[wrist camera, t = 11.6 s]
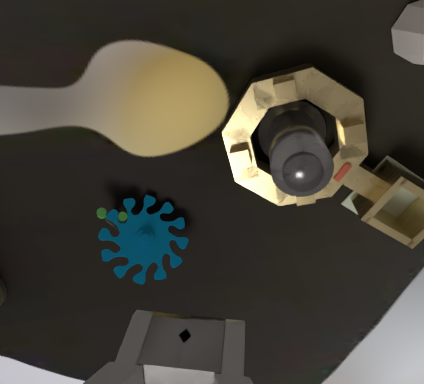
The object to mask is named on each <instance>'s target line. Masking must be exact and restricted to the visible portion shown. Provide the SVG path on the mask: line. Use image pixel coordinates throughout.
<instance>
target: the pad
mask: <svg viewBox="0 0 424 384" xmlns="http://www.w3.org/2000/svg"><path fill="white" fill-rule="evenodd" d="M386 159H388V160H390V161H391V162H393V163H395V164H396V165H398V166H400V167H401V168H403V169H405V170H406V171H408V172H409V173H411V174H413V175H414V176H416V177H418V178H419V179H421V180H423V179H422V178H420V177H419V176H417V175H416V174H414V173H413V172H412V171H410V170H409V169H407V168H406V167H404V166H403V165H401V164H400V163H398V162H397V161H395V160H394V159H392V158H391V157H390V156H388V155H387V156H386V157H385V158H384V159H383V160H382V161H381V162H380V163H379V164H378V165H377V166H376V167H375V168H374V169H373V170H375V171H376V170H377V169H378V168H379V166H380V165H381V164H382V163H383V162H384V161H385V160H386ZM423 181H424V180H423ZM355 193H356V192H355V191H354V190H353V191H352V192H351V193H350V194H349V195H348V196H347V197H346V198H345V199H344V200H343V201H342V202H341V204H342V205H344V206H345V207H347V208H348V209H350V210H351V211H353V212H355V213H356V214H358V213H357V211H356V209H355V207H354V205H353V203H352V201H351V198H352V197H353V195H354V194H355ZM417 198H418V196H416V195H415V194H413V193H411V192H410V191H408V190H406V189H405V188H403V187H401V188H400V189H399V190H398V192H397V193H396V194H395V195H394V196H393V197H392V198H391V199H390V200H389V201H388V202H387V203H386V204H385V205H384V206H383V207H382V209H383V210H385V211H387V212H388V213H390V214H392V215H394V216H395V217H397V218H398V217H399V216H400V215H401V214H402V213H403V212H404V211H405V210H406V209H407V208H408V207H409V206H410V205H411V204H412V203H413V202H414V201H415V200H416V199H417Z"/></svg>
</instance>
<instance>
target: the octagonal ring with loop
mask: <svg viewBox="0 0 424 384" xmlns="http://www.w3.org/2000/svg"><path fill="white" fill-rule="evenodd" d="M302 99H307V100H309V101H310V102H312V103H313V104H315V105H317V106H318V107H320V108H322V109H323V110H325V111H326V112H328V113H330V114H331V118H332V125H333V133H334V140H335V141H334V142H333V144H332V145H331V146H330V147H329V149H328V150H329V152H330V154H331V156H332V158H333V162H334V172H333V176H332V178H331V180H330V182H329V183H328V184H327V186H325V187H324V188H323V189H322V190H321V191H319V192H318V193H315V194H313V195H310V196H306V197H295V196H290V195H288V194H285V193H284V192H282V191H281V190H279V189H278V188H277V186H276V185H275V184H274V182H273V180H272V177H271V169H270V165H268V164H267V163H265V162H263V161H261V160H260V159H258V158H257V156H256V152H255V148H254V144H253V140H252V136H251V134H252V133H253V131H254V130H255V128H256V127H257V125H258V124H259V122H260V120H261V119H262V117H263V116H264V114H265V113H266V111H267V110H268V108H269V107H274V106H278V105H282V104H286V103H290V102H294V101H298V100H302ZM222 136H223V139H224V143H225V146H226V150H227V153H228V157H229V161H230V164H231V168H232V171H233V175H234V178H235V182H237V183H239V184H240V185H242V186H244V187H246V188H248V189H249V190H251V191H253V192H255V193H257V194H258V195H260V196H262V197H264V198H266V199H268V200H269V201H271V202H273V203H275V204H277V205H278V206H282V205H288V204H293V203H297V206H299V205H305V204H310V203H315V199H320V198H325V197H331V196H333V195H334V193H335V192H336V191H337V190H338V189H339V188H340V187H341V185H342V184H343V185H345V186H347V187H348V188H350V189H352V190H354V191H355V192H356V193H355V194H354V195H353V197H352V198H351V201H352V203H353V205H354V207H355V209H356V211H357V213H358V215H359V217H360V219H361V220H363V221H364V222H366V223H368V224H370V225H371V226H373V227H375V228H377V229H378V230H380V231H382V232H384V233H385V234H387V235H389V236H391V237H393V238H394V239H396V240H398V241H400V242H401V243H403V244H405V245H407V246H408V247H410V248H412V249H413V248H414V247H415V246H416V245H417V244H418V243H419V242H420V241H422V240H423V239H424V181H423V180H421V179H419V178H418V177H416V176H414V175H413V174H411V173H409V172H408V171H406V170H405V169H403V168H401V167H400V166H398V165H396V164H395V163H393V162H391V161H390V160H388V159H386V160H385V161H384V162H383V163H382V164H381V165H380V166H379V168H378V169H377V170H376V171H375V170H373V169H372V168H370V167H368V166H367V165H365V164H363V163H362V161H363V160H364V159H365V158H366V156H367V155H368V145H367V134H366V123H365V112H364V102H363V98H361V97H360V96H359V95H358V94H357V93H356V92H354V91H353V90H351V89H350V88H348V87H346V86H345V85H343V84H342V83H340V82H339V81H337V80H335V79H334V78H332V77H331V76H329V75H328V74H326V73H324V72H323V71H321V70H320V69H318V68H316V67H315V66H313V65H312V64H310V63H306V64H303V65H299V66H295V67H291V68H288V69H284V70H280V71H277V72H273V73H269V74H265V75H262V76H258V77H254V78H252V79H251V80H250V82H249V84H248V85H247V87H246V89H245V90H244V92H243V94H242V95H241V97H240V99H239V100H238V102H237V104H236V105H235V107H234V109H233V110H232V112H231V114H230V115H229V117H228V119H227V120H226V122H225V124H224V126H223V130H222ZM401 187H403V188H405V189H406V190H408V191H410V192H411V193H413V194H415V195H416V196H418V198H417V199H416V200H415V201H414V202H413V203H412V204H411V205H410V206H409V207H408V208H407V209H406V210H405V211H404V212H403V213H402V214H401V215H400V216H399V217H398V218H397V217H395V216H394V215H392V214H390V213H388V212H387V211H385V210H383V209H382V207H383V206H384V205H385V204H386V203H387V202H388V201H389V200H390V199H391V198H392V197H393V196H394V195H395V194H396V193H397V192H398V190H399V189H400V188H401Z"/></svg>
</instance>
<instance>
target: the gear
mask: <svg viewBox="0 0 424 384" xmlns="http://www.w3.org/2000/svg"><path fill="white" fill-rule="evenodd" d="M155 200H156V199H155V198H154V197H152V196H149V195H146V196H145V198H144V206H143V209H142V211H141V212H140V213H139V214H138V215H133V214H132V213H131V210H132V208H133V207H134V205H135V199H133V198H128V199H124V202H123V205H124V207H125V208H126V210H127V214H126V213H125V212H121V213H119V212H118V211H117V210H115V209H111V210H108V211H107V212H106V210H105V209H104V208H99V209H98V210H97V216H98V217H99V218H101V219H103V218H105V219H106V221H107V222H108V223H109V224H111V225H112V226H113V227H115V228H116V229H117V230H119V232H120V234H119V236H118V237H112V236H111V235H110V232H109V230H108V229H106V228H102V229H101V231H100V233H99V236H98V238H99V239H100V240H110V241H113V242H115V243H116V244H118V245H119V246H120V251H119V252H118V253H113V252H112V251H110V250H108V249H104V250H102V259H103V261H109V260H111V259H112V258H115V257H126V258H128V260H129V263H128V265H126V266H117V267H115V268H114V273H115V274H116V275H117V276H118V277H119V278H122V277H123V276H124V275H125V273H126V271H127V270H128V269H129V268H130V267H131V266H133V265H135V264H141V265H142V267H143V269H142V271H141V272H140V273H137V274H136V275H134V277H133V281H134V282H136V283H138V284H142V285H143V284H144V282H145V273H146V270H147V268H148V267H149V265H150V264H151V263H152V262H155V263H157V265H158V268H157V270H156V271H155V273H154V279H155V280H162V279H165V278H166V272H165V271H164V269H163V267H162V257H163V255H164V254H169V255H170V265H171V266H172V267H173V268H175V267H177V266H179V265H180V264H181V263H182V259H181V258H180V257H178V256H176V255H175V254H174V253H173V252H172V251H171V249H170V246H169V242H170V241H171V240H174V241H176V243H177V245H178V247H179V248H180V249H185V248H186V246H187V244H188V239H187V238H186V237H182V238H181V237H176V236H174V235H172V234H171V233H170V232H169V231H168V227H169V226H174V227H175V228H177V229H183V228H184V227H185V222H184V218H181V217H180V218H178V219H176V220H174V221H171V222H166V221H162V220H161V219H160V214H163V213H164V214H170V213H171V212H172V211H173V210H174V209H173V207H172V205H171V204H170V203H169V202H166V203H164V205H163V206H162V208H161V210H160V211H158V212H157V213H154V214H151V215H150V214H148V213H147V211H146V209H147V208H148V207H150V206H152V205H154V203H155ZM127 215H128V216H127Z"/></svg>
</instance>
